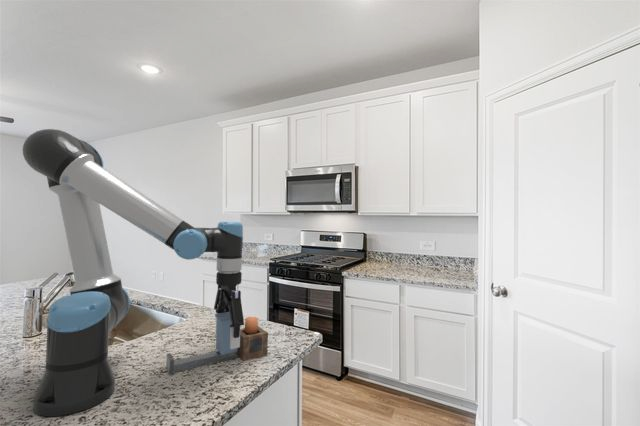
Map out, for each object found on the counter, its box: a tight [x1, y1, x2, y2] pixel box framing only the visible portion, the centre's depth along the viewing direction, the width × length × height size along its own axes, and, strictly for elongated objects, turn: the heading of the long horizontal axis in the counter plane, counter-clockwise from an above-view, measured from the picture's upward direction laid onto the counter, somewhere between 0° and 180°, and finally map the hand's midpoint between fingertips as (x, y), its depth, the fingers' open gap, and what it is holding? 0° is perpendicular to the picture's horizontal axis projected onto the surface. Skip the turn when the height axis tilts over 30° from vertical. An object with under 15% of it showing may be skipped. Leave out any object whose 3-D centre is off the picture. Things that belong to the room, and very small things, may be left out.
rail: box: [165, 349, 240, 376], centre depth 93 cm, size 21×5×4 cm, turn 126°
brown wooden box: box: [237, 325, 269, 362], centre depth 100 cm, size 8×8×7 cm
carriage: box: [214, 312, 238, 355], centre depth 97 cm, size 6×6×11 cm
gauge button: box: [244, 316, 259, 334], centre depth 100 cm, size 4×4×4 cm
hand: (227, 340), depth 97 cm, fingers open, 13 cm apart
